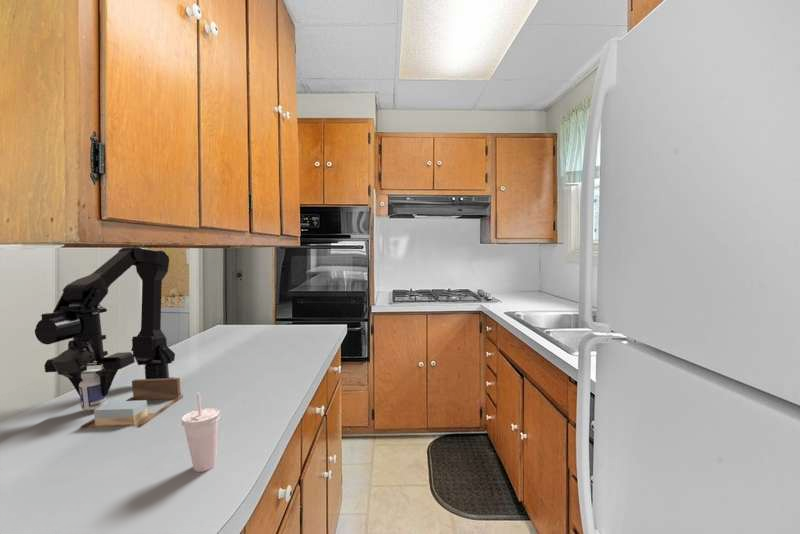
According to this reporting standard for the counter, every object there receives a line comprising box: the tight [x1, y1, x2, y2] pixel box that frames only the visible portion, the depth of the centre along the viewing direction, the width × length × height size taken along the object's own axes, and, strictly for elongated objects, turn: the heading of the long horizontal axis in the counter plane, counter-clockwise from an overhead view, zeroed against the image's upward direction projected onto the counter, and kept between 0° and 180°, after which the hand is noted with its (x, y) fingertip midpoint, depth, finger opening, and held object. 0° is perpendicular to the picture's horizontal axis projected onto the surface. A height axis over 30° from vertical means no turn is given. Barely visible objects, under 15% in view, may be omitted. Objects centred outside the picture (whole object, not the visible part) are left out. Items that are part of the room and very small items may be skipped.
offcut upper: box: [93, 399, 148, 418], centre depth 98 cm, size 5×9×2 cm, turn 88°
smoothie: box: [181, 391, 221, 473], centre depth 77 cm, size 6×6×14 cm
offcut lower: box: [94, 407, 149, 426], centre depth 98 cm, size 5×9×2 cm, turn 88°
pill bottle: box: [79, 368, 108, 411], centre depth 105 cm, size 5×5×9 cm
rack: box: [80, 377, 184, 430], centre depth 103 cm, size 18×14×6 cm
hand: (93, 396), depth 105 cm, fingers closed on pill bottle, 5 cm apart
